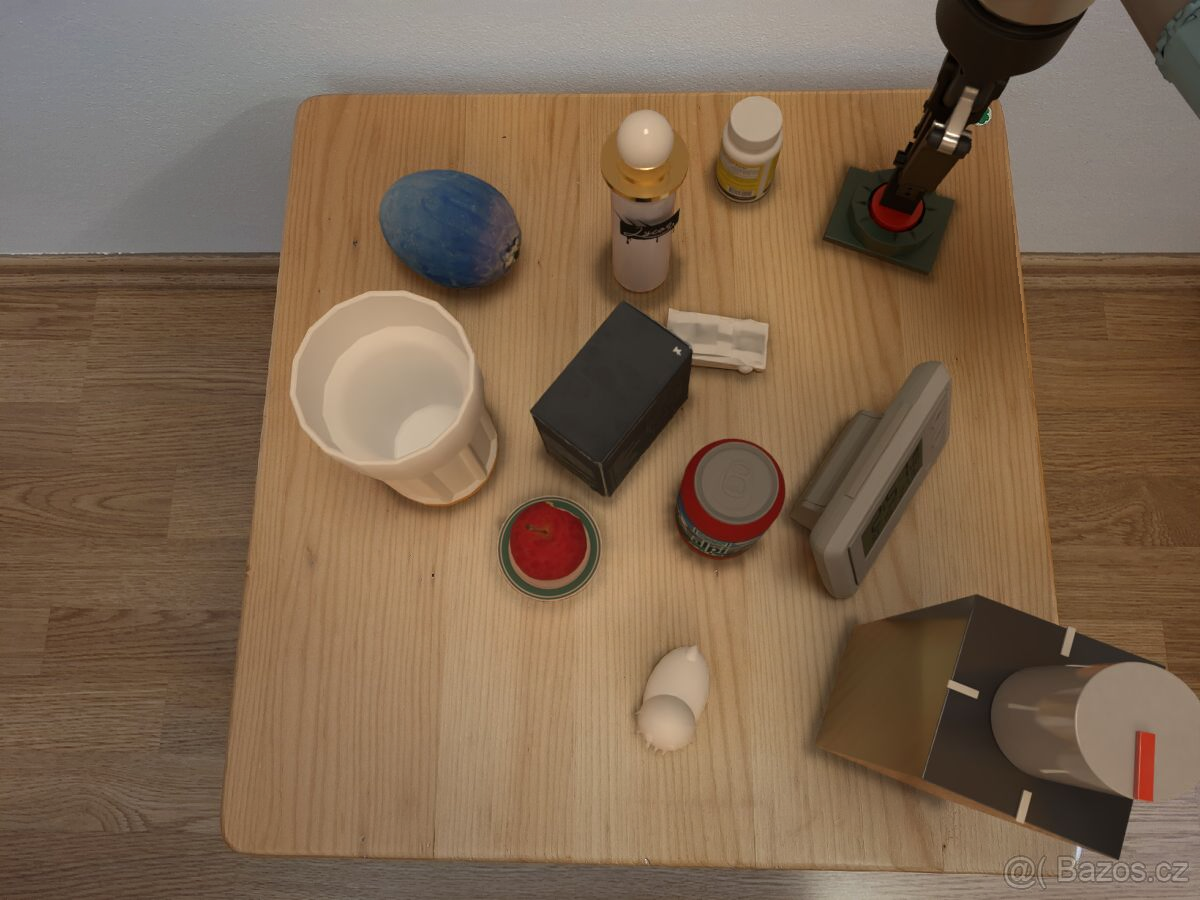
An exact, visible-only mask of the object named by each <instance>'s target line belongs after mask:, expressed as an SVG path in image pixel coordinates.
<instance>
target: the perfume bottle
mask: <svg viewBox="0 0 1200 900" xmlns="http://www.w3.org/2000/svg"><path fill="white" fill-rule="evenodd" d="M689 154H690V153H689V149H688V147H687V144H686V142H685V139H683V137H682V136H681V134H680V133H679V132H677V131H676V130H675V129H674V128H673V127H672V124H671V123H670V121H669V120H668V119H667V118H666V117H665V115H663V114H662V113H660V112H659V111H656V110H654V109H649V108H643V109H638V110H634V111H632V112H631V113H630V114H628V115H627V116H625V117H624V119H623V120H622V121H621V123H620V124H619V126H618V127H616V129H615V130H613V131H612V132H611V133H610V134H609V135H608V136H607V137H606V139H605V141H604V143H603V144H602V147H601V150H600V158H599V164H600V173H601V175H602V178H603V180H604V183H606V185H607V187H608V188H609V191H610V217H611V218H610V219H611V221H610V222H611V244H612V245H611V249H612V250H611V251H612V271H613V274H614V277H615V279H616V281H617V282H618V283H619V284H620V285H621V286H622V287H624V289H627V290H629V291H631V292H636V293H645V292H650V291H653V290H654V289H656V288H658V287H659V286H660V285H662V284H663V283H664V282H665V280H666V278H667V276H668V273H669V268H670V258H671V257H670V256H671V249H672V248H671V247H672V239H673V238H672V237H673V234H674V233H675V227H676V225H678V223H679V220H680V212H681V207H679V208H678V210H676V209H675V208H676V199H677V190H679V189H680V187H681V186H682V185H683V183H684V181H685V179H686V177H687V175H688V172H689V163H690V155H689ZM675 210H676V211H675Z"/></svg>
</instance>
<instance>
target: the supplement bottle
mask: <svg viewBox="0 0 1200 900" xmlns="http://www.w3.org/2000/svg"><path fill="white" fill-rule="evenodd" d="M783 121H784V118H783V113H782V111H781V109H780V107H779V105H778V104H777V103H775V101H774V100H772V99H770V98H768V97H766V96H759V95H751V96H747V97H744V98H743V99H742V98H741V100H739V101H738V102H737V103H735V105H734V106H733V108H732V109H731V112H730V114H729V119H728V121H727V122H726V123H725V125H724V127H723V130H722V134H721V139H720V146H719V151H718V159H717V166H716V171H715V182H716V185H717V187H718V189H719V191H720V192H721V193H722V194H723V195H724V196H725V197H726V198H728V199H729V200H731V201H734V202H736V203H737V202H738V203H751V202H755V201H757V200H759V199H760V198H762V197H763V196H765V195H766V193H768V191H769V190H770V188H771V186H772V182H773V179H774V176H775V173H776V169H777V165H778V161H779V158H780V154H781V150H782V147H783V142H784V133H783V129H782V127H783Z"/></svg>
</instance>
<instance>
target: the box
mask: <svg viewBox="0 0 1200 900" xmlns="http://www.w3.org/2000/svg"><path fill="white" fill-rule="evenodd" d="M692 354H693V350H692V346H691V345H690V344H689V343H688V342H686V341H684V340H682V339H681V338H680V337H678V336H677V335H676V334H675V333H673V332H671V331H670V330H669V329H668V328H667V326H665V325H664V324H663V323H660V322H659V321H657V320H656V319H654V318H653V317H652V316H651V315H649V314H647V313H645V312H644V311H643V310H641V309H640V308H638V307H636V306H634V305H633V304H631V303H630V302H629V301H627V300H626V299H623V300H621V301H620V302H619V304H618V305H616V307H615V308H614V309H613V310H612V312H610V314H608V316H607V317H606V319H605V320H604V321H603V322H602V323H601V324H600V326H599V327H598V328H597V330H596V331H594V333H593V334H592V335H591V337H590V338H589V339H588V340H587V341H586V342H585V344H584V345H583V346H582V347H581V349H580V350H578V352H577V353H576V355H575V356H574V357H573V358H572V359H571V360H570V361H569V363H568V364H567V365H566V366H565V367H564V369H563V370H562V371H561V373H560V374H559V375H558V376H557V377H556V379H555V380H554V381H553V382H552V383H551V384H550V385H549V387H548V388H547V389H546V390H545V391H544V392H543V394H542V395H541V396H540V397H539V399H538V400H537V401H536V402H535V404H534V405H533V406H532V407H531V408H530V409H529V413H530V415H531V417H532V419H533V422H534V424H535V426H536V429H537V432H538V435H539V436H540V439H541V442H542V443H543V447H544V448H545V452H546V453H547V454H548V455H550V456H551V457H552V458H553V459H554V460H556V461H557V462H558V463H560V464H561V465H562V466H563V467H564V468H566V469H567V470H569V472H571V473H572V474H574V475H575V476H576V477H577V478H579V479H580V480H581V481H582V482H584V483H585V484H586V485H588V486H589V488H590V489H591V490H592V491H595V492H596V493H598V494H599V495H600V496H602V497H608V498H611V496H613V494H614V492H615V491H616V490H617V488H618V487H619V486H620V485H621V483H622V482H623V481H624V479H626V476H628V475H629V473H630V472H631V470H632V469H633V468H634V466H635V465H636V464H637V463H638V461H639V460H640V458H641V457H642V456H643V455H644V453H645V452H646V451H647V450H648V449H649V447H650V446H651V445H652V444H653V442H655V440H656V439H657V438H658V436H659V435H660V434H661V432H662V431H663V430H664V429H665V428H666V427H667V425H668V424H669V422H671V420H672V419H673V418H674V416H675V415H676V414H677V413H678V411H679V410H680V409H681V407H682V406H683V405H684V404H685V402H686V401H687V400H688V398H689V391H690V390H689V389H690V381H691V371H692V365H691V364H692Z"/></svg>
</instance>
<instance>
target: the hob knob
mask: <svg viewBox="0 0 1200 900" xmlns="http://www.w3.org/2000/svg"><path fill="white" fill-rule="evenodd" d="M991 725H992V730H993V734H994V737H995V739H996V742H997V744H998V746H999V748H1000V749H1001V751H1002V752H1003V754H1004V755H1005V756H1006V757H1007V759H1008V760H1009V761H1010V762H1011V763H1012V764H1013V765H1015V766H1016V767H1017V768H1019V769H1020V770H1021V771H1023V772H1025V773H1027V774H1028V775H1031V776H1033V777H1036V778H1040V779H1044V780H1048V781H1052V782H1057V783H1061V784H1066V785H1070V786H1075V787H1079V788H1084V789H1088V790H1093V791H1097V792H1101V793H1106V794H1110V795H1115V796H1119V797H1124V798H1128V799H1133V800H1134V801H1137V802H1143V803H1164V802H1168V801H1172V800H1176V799H1178V798H1179V797H1183V796H1184V795H1186V794H1187V793H1188V792H1190V791H1191V790H1192V789H1194V788H1195V787H1196V786H1197V785H1198V783H1199V782H1200V699H1199V698H1198V696H1197V695H1196V693H1195V692H1194V691H1193V690H1192V689H1191V688H1190V686H1188V685H1187V684H1186V683H1185V682H1184V681H1183V680H1182V679H1180V677H1179V676H1176V675H1175V674H1173V673H1172V672H1171V671H1168V670H1167V669H1166V668H1165V669H1163V668H1160V667H1158V666H1155V665H1152V664H1148V663H1142V662H1113V663H1093V664H1072V665H1051V666H1034V667H1028V668H1024V669H1021V670H1019V671H1017V672H1015V673H1013V674H1012V675H1010V676H1009V677H1008V678H1007V679H1006V680H1005V681H1004V682H1003V683H1002V684H1001V685H1000V687H999V688H998V690H997V692H996V694H995V696H994V699H993V703H992V708H991Z"/></svg>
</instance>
